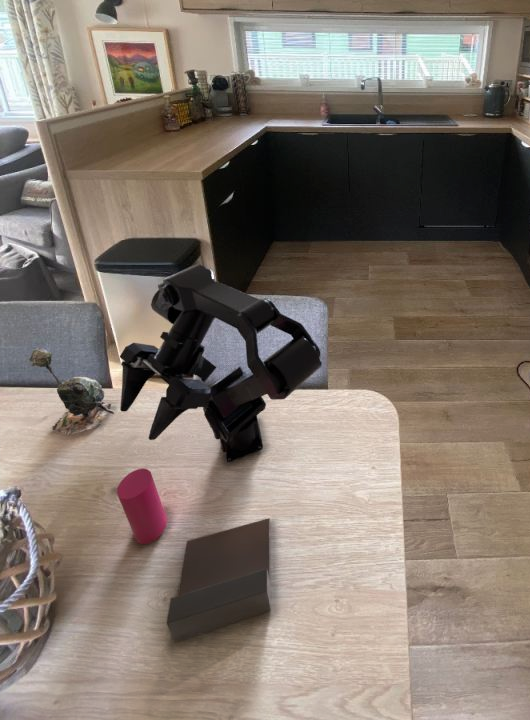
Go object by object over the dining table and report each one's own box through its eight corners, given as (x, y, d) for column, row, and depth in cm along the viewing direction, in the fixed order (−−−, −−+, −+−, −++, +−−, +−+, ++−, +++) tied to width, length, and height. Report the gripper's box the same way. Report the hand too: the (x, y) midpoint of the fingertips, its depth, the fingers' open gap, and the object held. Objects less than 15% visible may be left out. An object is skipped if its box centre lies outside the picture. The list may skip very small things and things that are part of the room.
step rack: (189, 548, 59) (183, 528, 57) (270, 525, 62) (267, 505, 60) (174, 643, 50) (166, 623, 48) (271, 610, 53) (267, 591, 51)
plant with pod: (91, 445, 74) (58, 365, 66) (46, 431, 77) (9, 352, 69) (127, 409, 81) (101, 334, 73) (85, 397, 84) (55, 323, 76)
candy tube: (167, 507, 64) (152, 463, 60) (166, 535, 61) (150, 491, 56) (136, 520, 62) (119, 475, 58) (133, 550, 59) (114, 505, 54)
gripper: (252, 361, 70) (207, 451, 66) (192, 322, 80) (150, 398, 76) (205, 354, 61) (150, 458, 57) (144, 311, 71) (92, 397, 66)
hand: (137, 424), depth 64 cm, fingers open, 9 cm apart
